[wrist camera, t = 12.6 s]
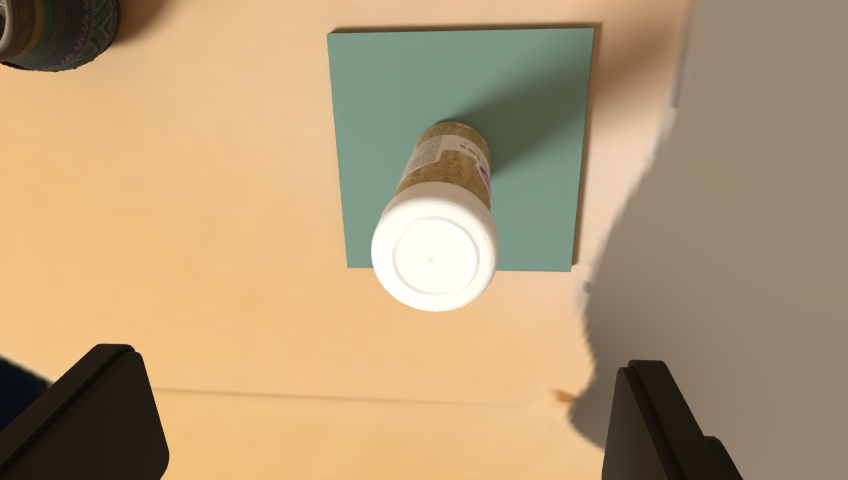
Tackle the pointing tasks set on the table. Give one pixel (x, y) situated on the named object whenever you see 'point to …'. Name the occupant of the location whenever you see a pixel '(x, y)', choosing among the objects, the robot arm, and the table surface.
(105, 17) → the mate gourd
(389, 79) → the mat
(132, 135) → the table surface
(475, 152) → the sprinkles bottle
